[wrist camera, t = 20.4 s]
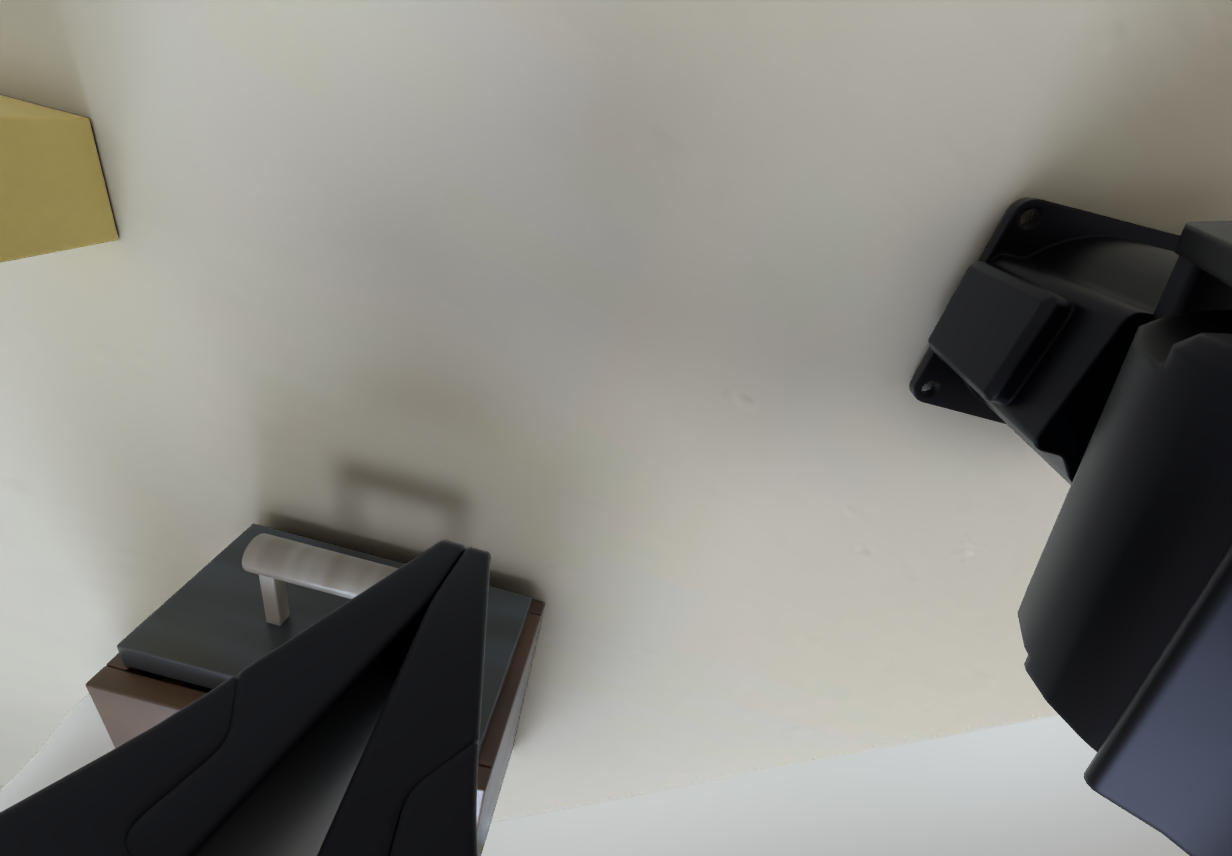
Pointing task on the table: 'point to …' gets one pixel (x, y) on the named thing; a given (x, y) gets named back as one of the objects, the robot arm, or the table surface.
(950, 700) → the table surface
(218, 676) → the drawer
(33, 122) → the block
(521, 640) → the cabinet
